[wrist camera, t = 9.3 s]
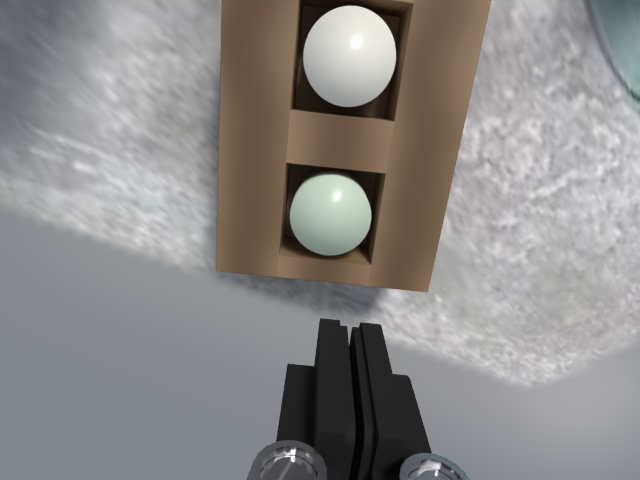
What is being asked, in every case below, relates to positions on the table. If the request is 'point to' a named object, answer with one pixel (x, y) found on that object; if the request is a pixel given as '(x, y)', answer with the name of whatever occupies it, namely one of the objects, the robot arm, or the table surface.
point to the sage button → (330, 211)
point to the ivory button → (349, 56)
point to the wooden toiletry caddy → (341, 138)
